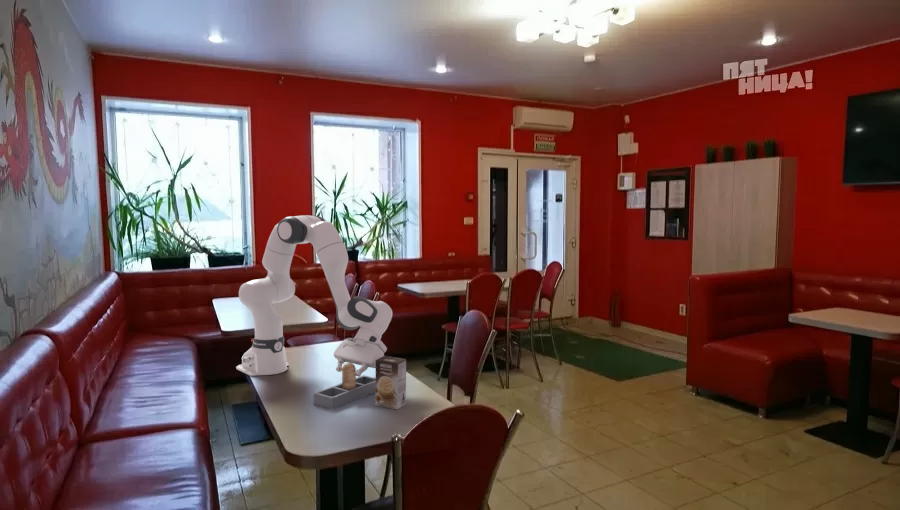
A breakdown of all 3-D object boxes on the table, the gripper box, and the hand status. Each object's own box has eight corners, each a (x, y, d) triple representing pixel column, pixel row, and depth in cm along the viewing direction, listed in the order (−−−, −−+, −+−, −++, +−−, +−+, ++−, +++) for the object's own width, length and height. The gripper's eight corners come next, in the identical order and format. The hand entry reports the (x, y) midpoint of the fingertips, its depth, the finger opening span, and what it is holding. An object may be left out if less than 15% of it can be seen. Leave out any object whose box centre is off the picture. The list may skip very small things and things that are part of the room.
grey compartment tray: (313, 403, 185) (313, 393, 185) (363, 384, 206) (363, 375, 206) (332, 409, 180) (331, 398, 180) (381, 389, 201) (381, 379, 201)
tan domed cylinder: (339, 394, 192) (339, 363, 191) (349, 391, 196) (348, 360, 195) (349, 397, 190) (348, 365, 189) (358, 393, 194) (358, 362, 193)
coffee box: (374, 405, 184) (374, 359, 182) (384, 399, 189) (384, 355, 188) (397, 410, 180) (397, 363, 179) (407, 403, 186) (406, 358, 184)
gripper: (341, 332, 203) (322, 363, 196) (382, 339, 192) (363, 373, 184) (350, 341, 207) (331, 372, 200) (390, 349, 196) (372, 382, 188)
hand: (347, 373), depth 192 cm, fingers open, 8 cm apart
